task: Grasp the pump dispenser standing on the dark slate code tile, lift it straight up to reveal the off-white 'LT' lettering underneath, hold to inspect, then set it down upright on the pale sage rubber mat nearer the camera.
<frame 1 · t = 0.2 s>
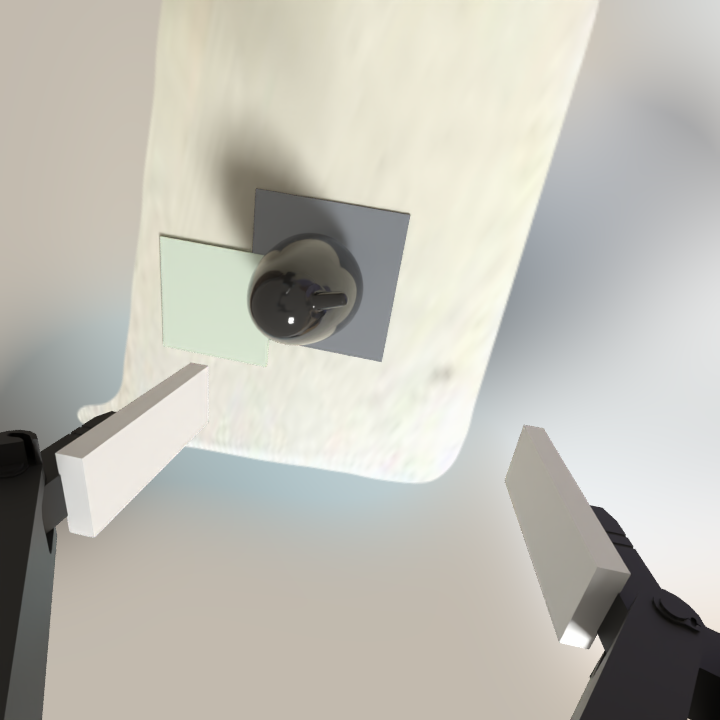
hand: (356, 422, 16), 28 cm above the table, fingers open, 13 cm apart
pump dispenser: (322, 280, 42), resting on code tile
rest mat: (216, 303, 45), on the table
code tile: (322, 279, 42), on the table
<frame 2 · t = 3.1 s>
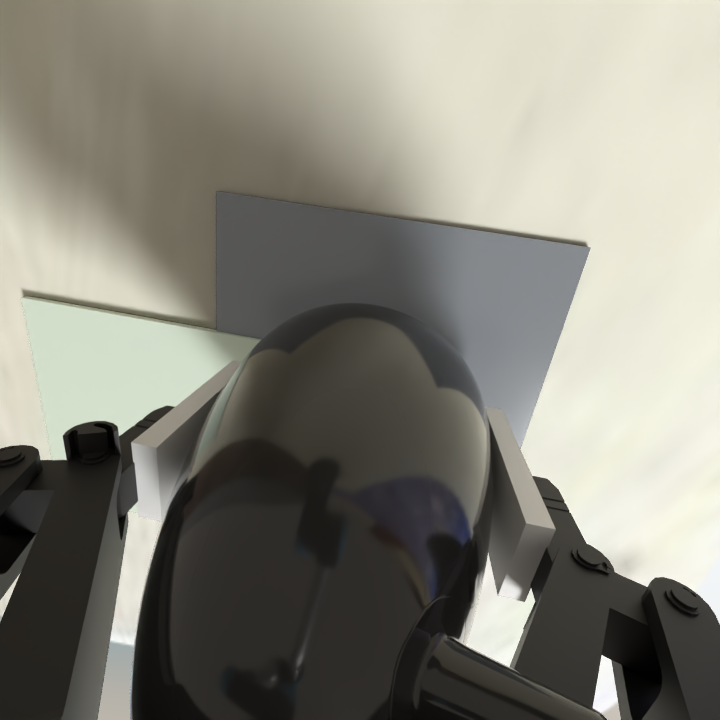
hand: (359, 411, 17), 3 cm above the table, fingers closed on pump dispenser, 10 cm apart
pump dispenser: (369, 385, 19), resting on code tile, touching gripper
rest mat: (151, 425, 22), on the table
code tile: (369, 385, 19), on the table
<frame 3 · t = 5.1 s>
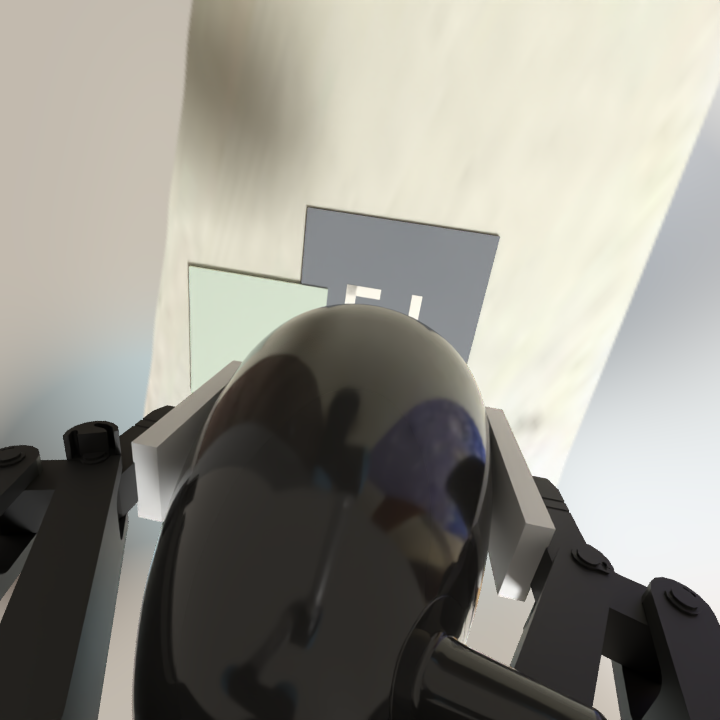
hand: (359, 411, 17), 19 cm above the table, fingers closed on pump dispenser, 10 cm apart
pump dispenser: (369, 386, 19), point 16 cm above the table, touching gripper
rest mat: (256, 343, 37), on the table
code tile: (386, 314, 35), on the table
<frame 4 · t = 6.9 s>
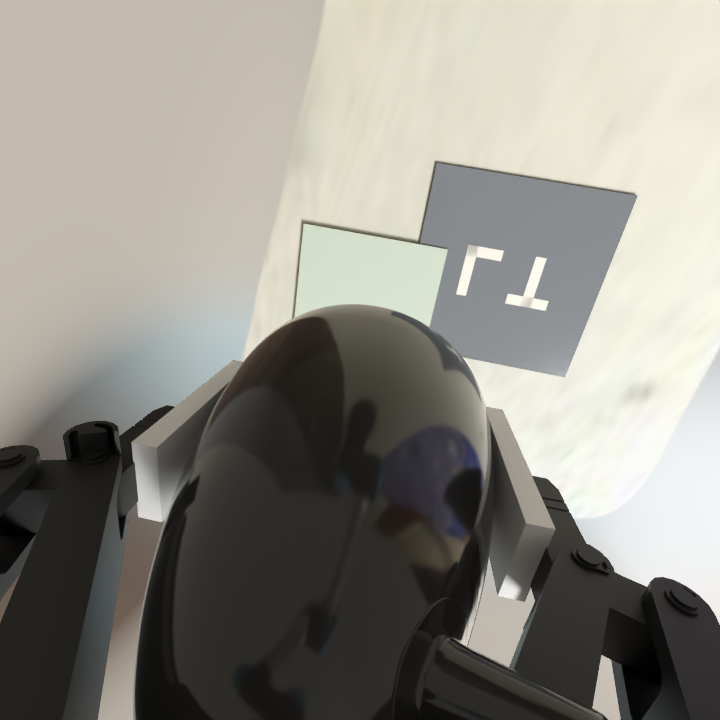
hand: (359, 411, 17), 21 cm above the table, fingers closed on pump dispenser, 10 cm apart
pump dispenser: (370, 386, 19), point 18 cm above the table, touching gripper
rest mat: (363, 306, 37), on the table
code tile: (505, 277, 34), on the table
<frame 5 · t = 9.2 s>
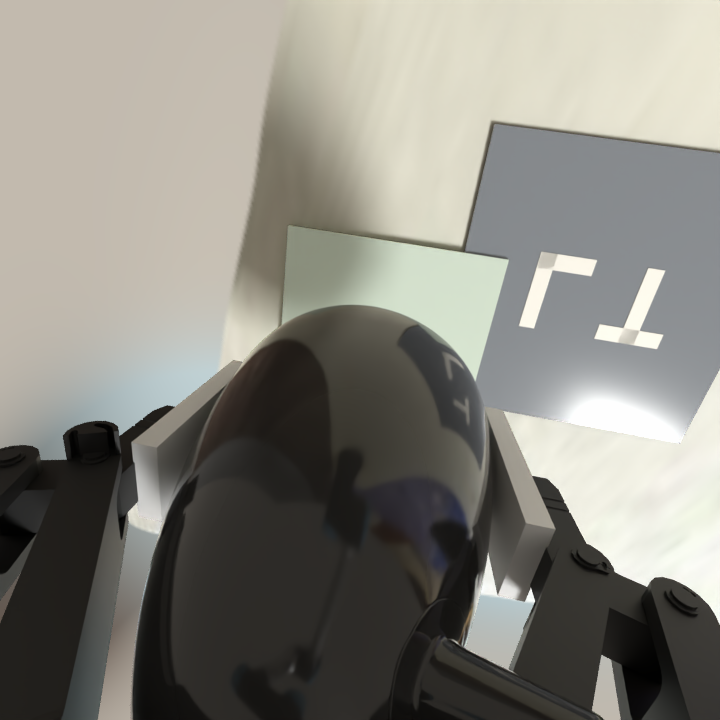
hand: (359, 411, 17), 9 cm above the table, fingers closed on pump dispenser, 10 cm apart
pump dispenser: (369, 387, 19), point 6 cm above the table, touching gripper
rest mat: (379, 344, 25), on the table
code tile: (595, 300, 22), on the table
when the fingers open (4 cm above the table, at t = 10.8 s): pump dispenser drops 1 cm, resting on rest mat.
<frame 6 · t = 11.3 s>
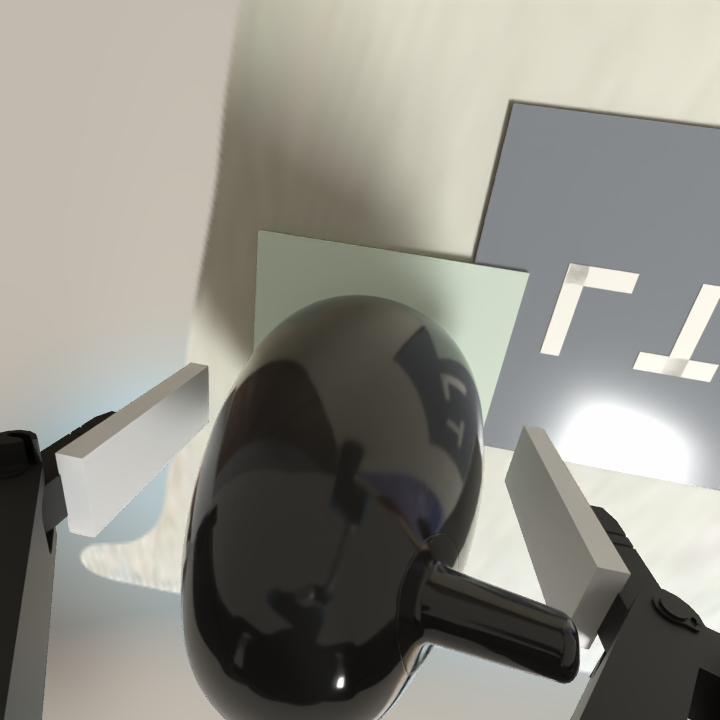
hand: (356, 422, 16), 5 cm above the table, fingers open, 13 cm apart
pump dispenser: (370, 374, 21), resting on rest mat
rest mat: (370, 372, 21), on the table
code tile: (635, 322, 18), on the table
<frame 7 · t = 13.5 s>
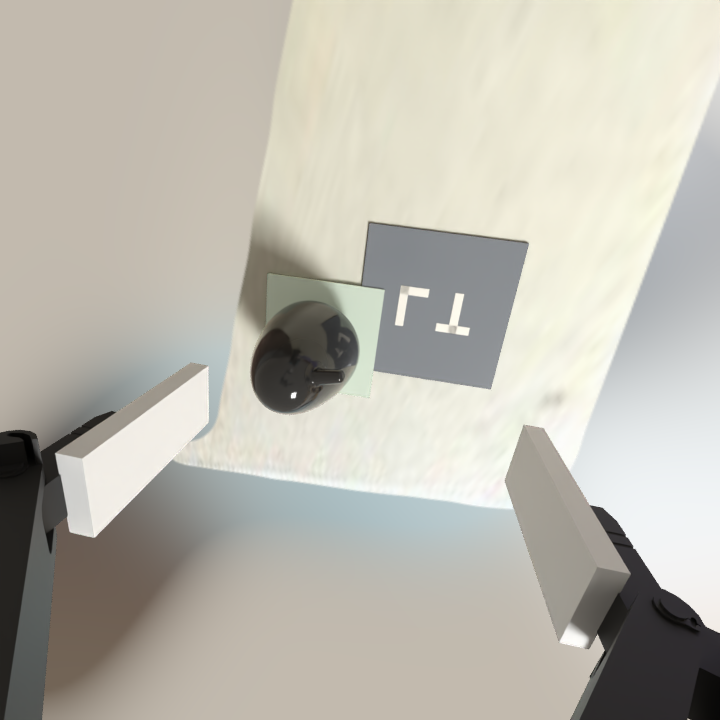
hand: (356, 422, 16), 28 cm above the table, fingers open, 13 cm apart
pump dispenser: (321, 337, 44), resting on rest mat
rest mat: (321, 337, 44), on the table
code tile: (433, 310, 42), on the table
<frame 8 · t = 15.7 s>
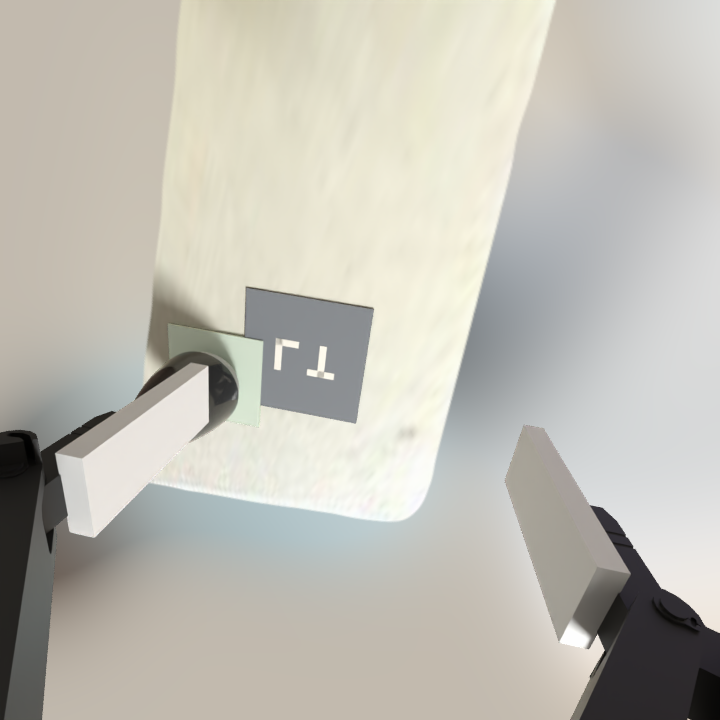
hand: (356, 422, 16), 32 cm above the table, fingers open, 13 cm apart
pump dispenser: (215, 377, 53), resting on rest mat
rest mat: (216, 376, 53), on the table
code tile: (304, 358, 50), on the table
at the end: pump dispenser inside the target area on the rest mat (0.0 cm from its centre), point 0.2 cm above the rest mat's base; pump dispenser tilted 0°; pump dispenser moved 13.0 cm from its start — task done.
